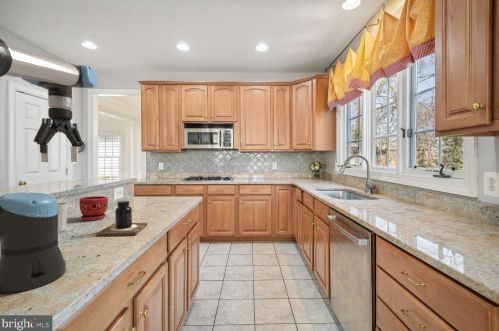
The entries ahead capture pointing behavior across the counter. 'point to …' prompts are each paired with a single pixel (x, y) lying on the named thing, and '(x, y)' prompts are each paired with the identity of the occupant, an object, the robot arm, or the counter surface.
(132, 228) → the walnut board
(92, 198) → the plant pot
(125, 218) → the supplement bottle
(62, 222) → the cup
